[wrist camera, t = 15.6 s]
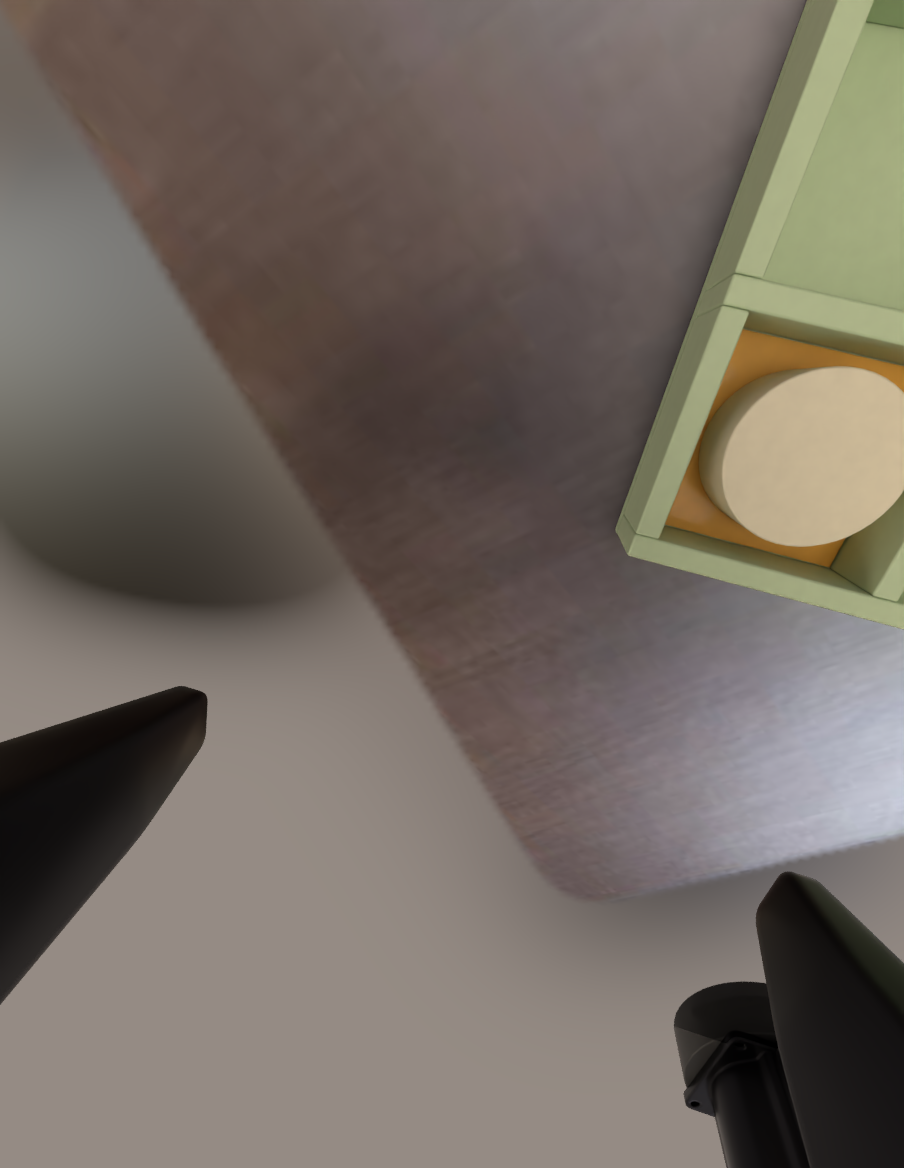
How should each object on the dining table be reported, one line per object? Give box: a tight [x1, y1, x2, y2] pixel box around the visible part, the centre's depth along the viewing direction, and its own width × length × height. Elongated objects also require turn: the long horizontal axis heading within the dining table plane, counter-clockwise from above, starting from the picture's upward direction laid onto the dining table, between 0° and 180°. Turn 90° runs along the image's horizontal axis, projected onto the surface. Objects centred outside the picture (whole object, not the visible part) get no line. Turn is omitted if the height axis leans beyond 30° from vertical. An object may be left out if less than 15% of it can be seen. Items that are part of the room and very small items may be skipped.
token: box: [699, 366, 904, 547], centre depth 15 cm, size 5×5×2 cm
